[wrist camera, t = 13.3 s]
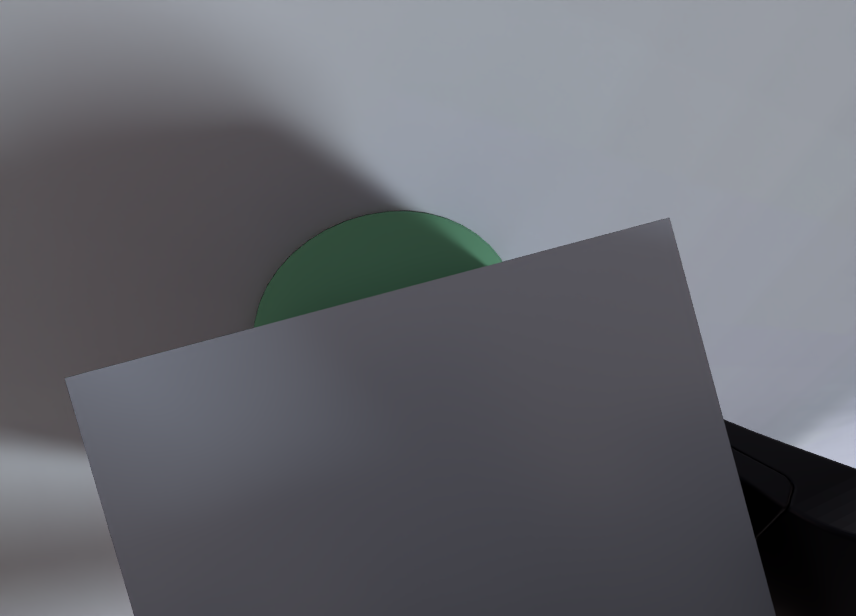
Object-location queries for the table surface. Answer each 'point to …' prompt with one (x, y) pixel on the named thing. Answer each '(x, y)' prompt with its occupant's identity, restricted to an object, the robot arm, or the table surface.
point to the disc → (370, 262)
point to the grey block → (437, 453)
